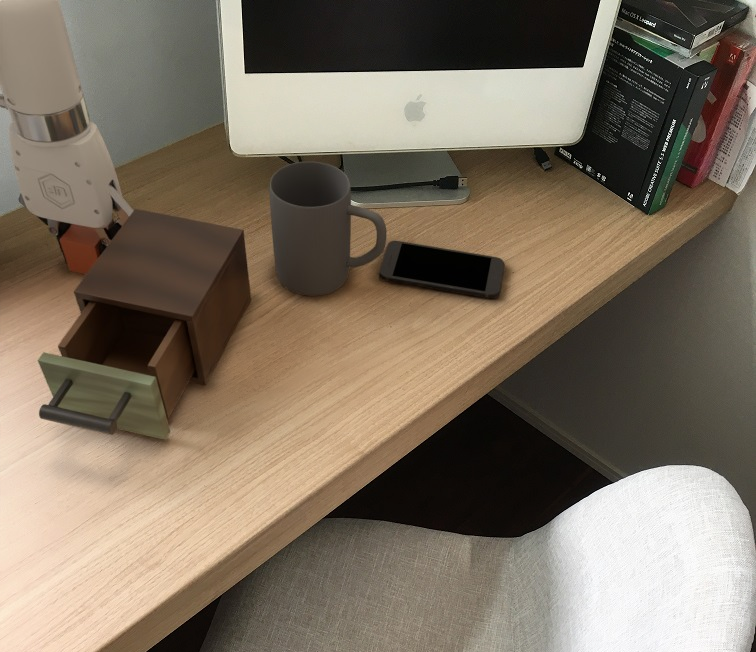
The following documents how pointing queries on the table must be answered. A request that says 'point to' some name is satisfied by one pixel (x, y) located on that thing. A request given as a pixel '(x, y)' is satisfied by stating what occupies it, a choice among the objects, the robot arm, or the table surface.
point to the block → (80, 248)
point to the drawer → (118, 371)
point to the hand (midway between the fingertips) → (94, 260)
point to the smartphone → (442, 269)
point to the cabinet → (176, 278)
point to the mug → (316, 228)
